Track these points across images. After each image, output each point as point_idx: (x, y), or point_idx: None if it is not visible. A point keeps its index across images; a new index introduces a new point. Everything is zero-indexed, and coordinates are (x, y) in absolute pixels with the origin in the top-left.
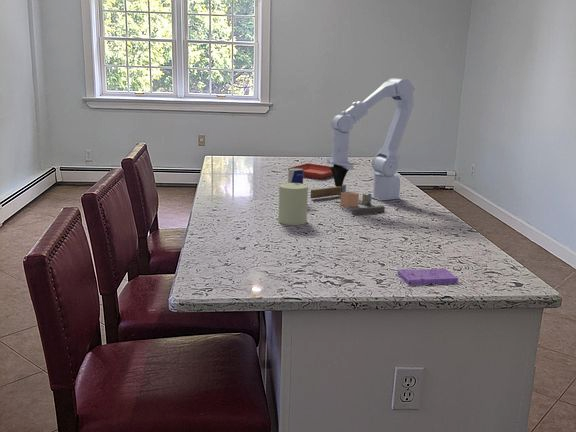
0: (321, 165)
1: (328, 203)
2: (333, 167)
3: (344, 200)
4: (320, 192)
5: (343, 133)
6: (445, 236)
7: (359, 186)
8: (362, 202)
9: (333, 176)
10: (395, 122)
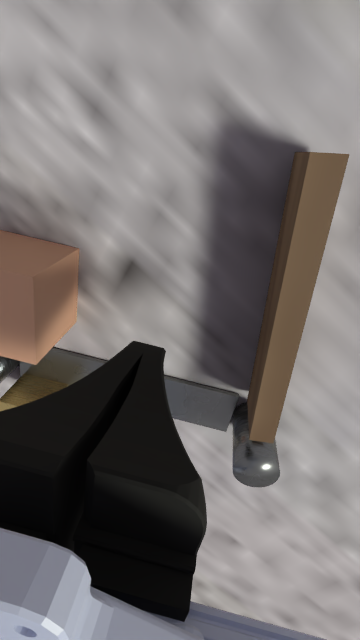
0: None
1: (135, 191)
2: (47, 474)
3: (12, 248)
4: (283, 251)
5: None
6: None
7: (336, 583)
8: (46, 367)
9: (163, 400)
10: None
